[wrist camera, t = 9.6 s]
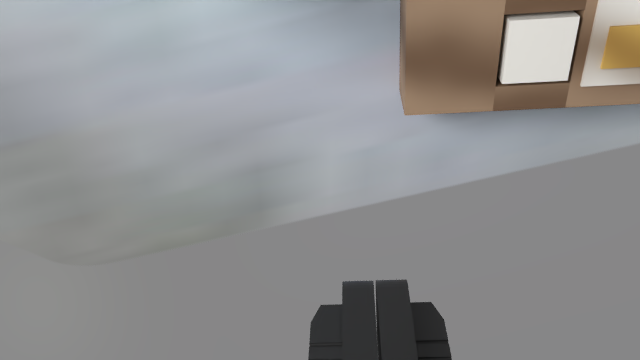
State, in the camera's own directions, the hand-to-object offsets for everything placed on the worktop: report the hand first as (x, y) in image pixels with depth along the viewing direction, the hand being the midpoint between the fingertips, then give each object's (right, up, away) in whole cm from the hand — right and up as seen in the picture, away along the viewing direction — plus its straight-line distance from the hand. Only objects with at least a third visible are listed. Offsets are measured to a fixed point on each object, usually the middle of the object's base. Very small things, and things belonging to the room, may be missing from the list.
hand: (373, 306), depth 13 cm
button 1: (+12, +12, +21) cm, 27 cm away
